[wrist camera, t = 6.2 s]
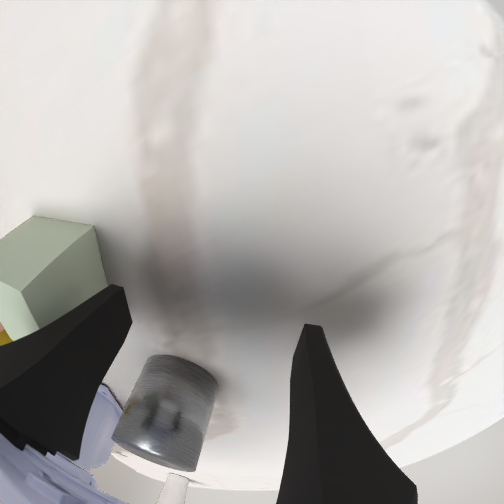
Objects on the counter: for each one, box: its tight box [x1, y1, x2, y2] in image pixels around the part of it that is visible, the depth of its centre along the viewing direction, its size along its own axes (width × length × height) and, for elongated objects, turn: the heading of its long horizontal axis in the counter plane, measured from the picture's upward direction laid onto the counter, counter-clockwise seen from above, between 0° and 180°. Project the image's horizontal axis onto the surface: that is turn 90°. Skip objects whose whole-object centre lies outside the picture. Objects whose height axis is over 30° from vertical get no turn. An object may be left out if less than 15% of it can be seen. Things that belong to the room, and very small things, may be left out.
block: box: [0, 216, 108, 341], centre depth 10 cm, size 5×5×5 cm
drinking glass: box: [156, 473, 189, 504], centre depth 40 cm, size 7×7×15 cm
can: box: [111, 355, 218, 472], centre depth 13 cm, size 5×5×6 cm
